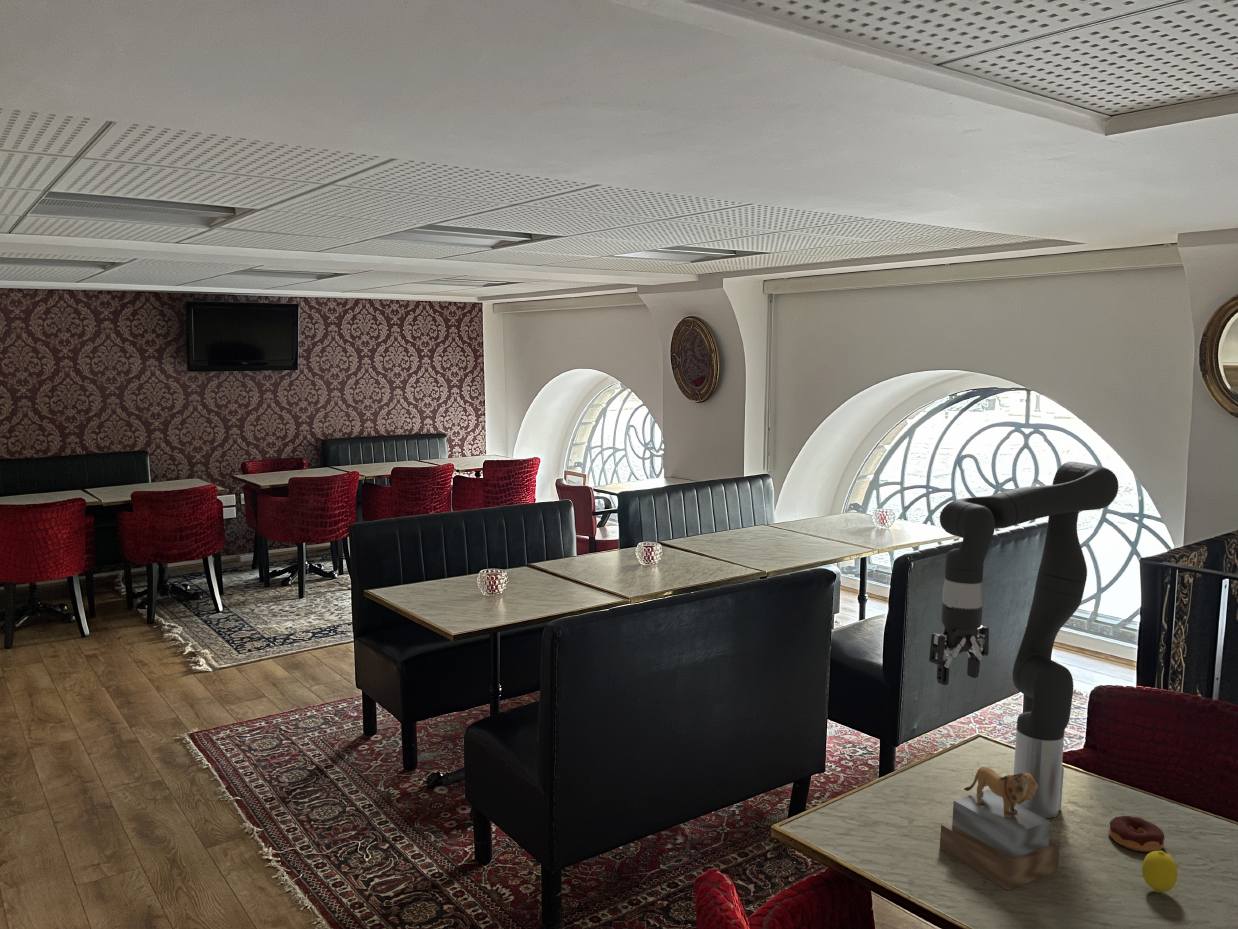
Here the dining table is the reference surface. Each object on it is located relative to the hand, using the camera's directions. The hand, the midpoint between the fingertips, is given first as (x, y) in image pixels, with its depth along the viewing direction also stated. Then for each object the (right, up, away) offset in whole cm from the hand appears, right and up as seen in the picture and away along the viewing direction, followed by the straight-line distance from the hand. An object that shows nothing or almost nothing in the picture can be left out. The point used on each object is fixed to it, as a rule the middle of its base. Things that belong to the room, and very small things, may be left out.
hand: (957, 680), depth 182 cm
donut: (+36, -33, +1) cm, 49 cm away
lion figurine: (+6, -23, -7) cm, 25 cm away
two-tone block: (+5, -33, -6) cm, 34 cm away
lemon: (+30, -35, -17) cm, 49 cm away
